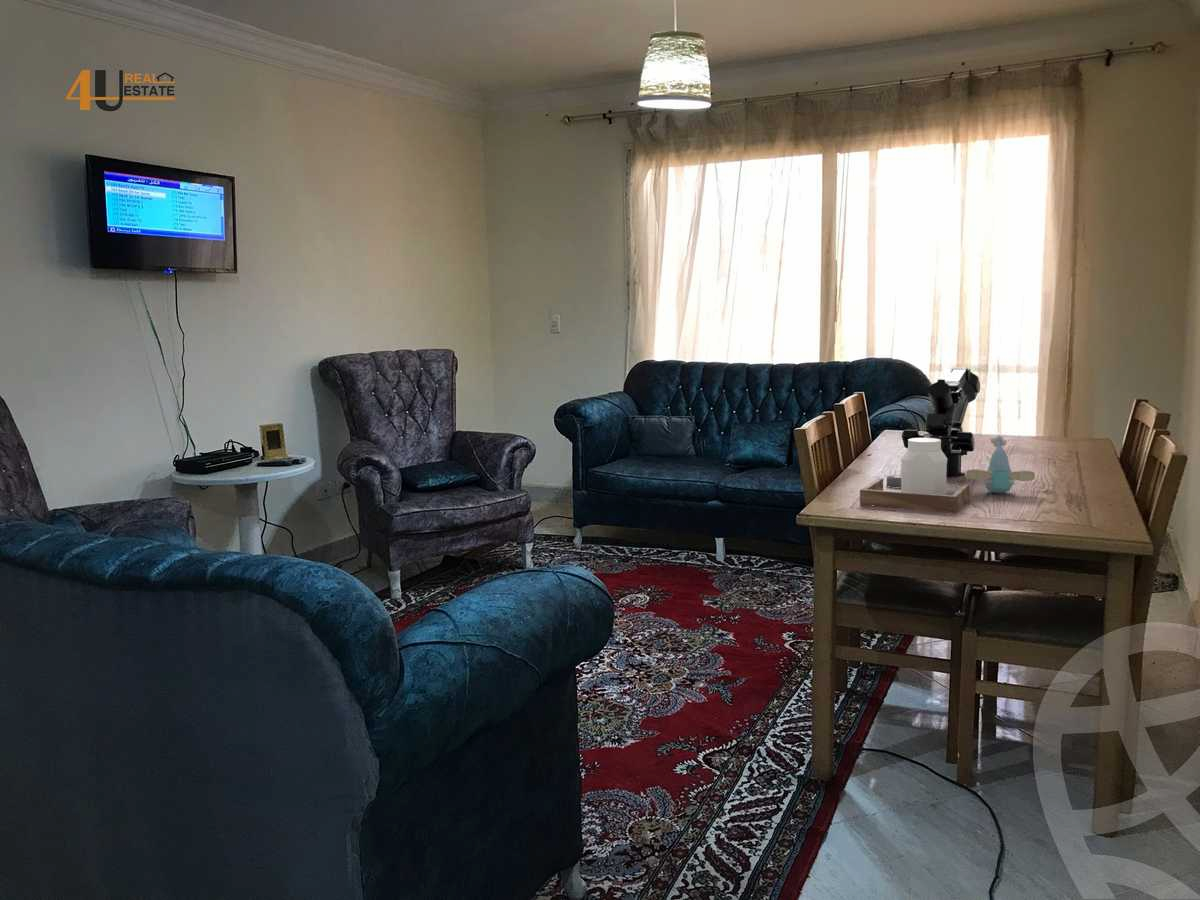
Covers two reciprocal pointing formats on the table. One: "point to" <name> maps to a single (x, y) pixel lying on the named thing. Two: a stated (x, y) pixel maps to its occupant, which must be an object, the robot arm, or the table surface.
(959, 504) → the wooden tray
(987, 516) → the table surface
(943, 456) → the jar
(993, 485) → the blue winged piece
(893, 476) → the wheel
